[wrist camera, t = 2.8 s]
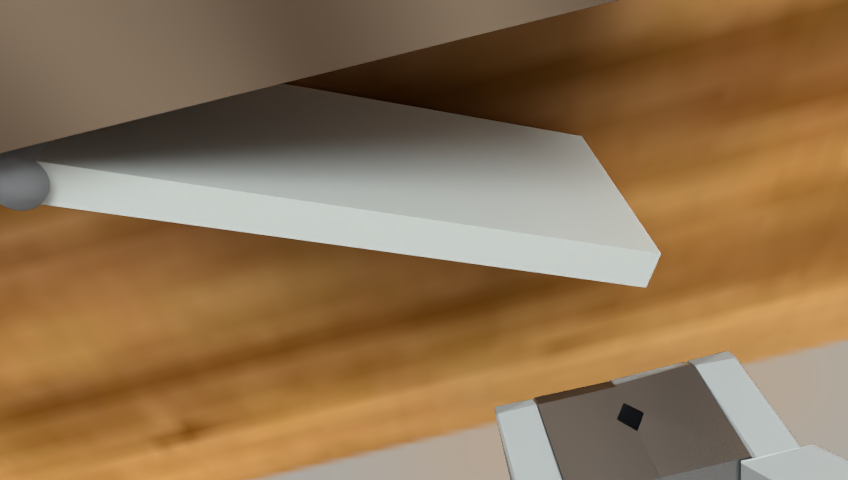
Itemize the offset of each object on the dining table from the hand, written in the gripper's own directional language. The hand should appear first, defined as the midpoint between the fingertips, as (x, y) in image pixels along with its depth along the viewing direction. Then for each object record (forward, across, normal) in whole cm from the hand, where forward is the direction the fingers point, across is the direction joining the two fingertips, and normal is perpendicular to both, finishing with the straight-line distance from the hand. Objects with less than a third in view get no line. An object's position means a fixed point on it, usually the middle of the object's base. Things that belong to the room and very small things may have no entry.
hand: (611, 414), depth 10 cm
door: (+15, +4, +1) cm, 16 cm away
